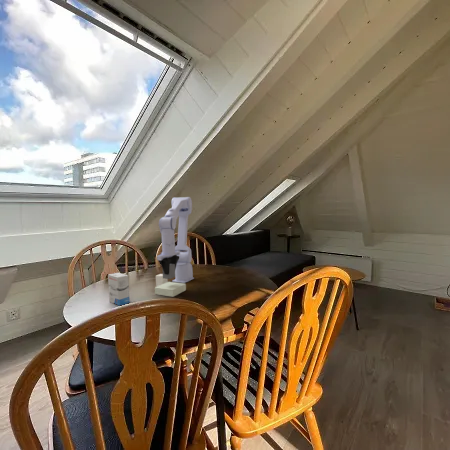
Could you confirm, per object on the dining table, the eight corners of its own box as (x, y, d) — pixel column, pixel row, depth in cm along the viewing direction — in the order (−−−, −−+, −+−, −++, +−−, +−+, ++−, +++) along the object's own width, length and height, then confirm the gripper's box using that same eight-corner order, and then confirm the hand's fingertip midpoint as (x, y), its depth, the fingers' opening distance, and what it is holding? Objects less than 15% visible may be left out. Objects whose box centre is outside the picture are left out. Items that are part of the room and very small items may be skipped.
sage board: (168, 287, 137) (168, 281, 136) (185, 290, 132) (185, 283, 132) (154, 294, 128) (154, 287, 127) (173, 296, 123) (172, 290, 123)
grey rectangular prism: (168, 276, 132) (167, 263, 132) (175, 276, 131) (174, 264, 130) (162, 278, 129) (162, 265, 128) (170, 279, 127) (169, 265, 127)
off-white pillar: (161, 285, 141) (160, 273, 141) (167, 286, 139) (167, 274, 139) (156, 287, 138) (155, 275, 137) (162, 288, 136) (162, 276, 135)
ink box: (130, 302, 117) (128, 275, 116) (119, 306, 114) (117, 277, 113) (120, 298, 123) (118, 272, 122) (109, 301, 119) (107, 274, 118)
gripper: (171, 241, 136) (172, 268, 138) (150, 245, 124) (152, 276, 125) (183, 241, 133) (184, 269, 134) (163, 246, 120) (165, 277, 121)
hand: (169, 273), depth 129 cm, fingers closed on grey rectangular prism, 4 cm apart
